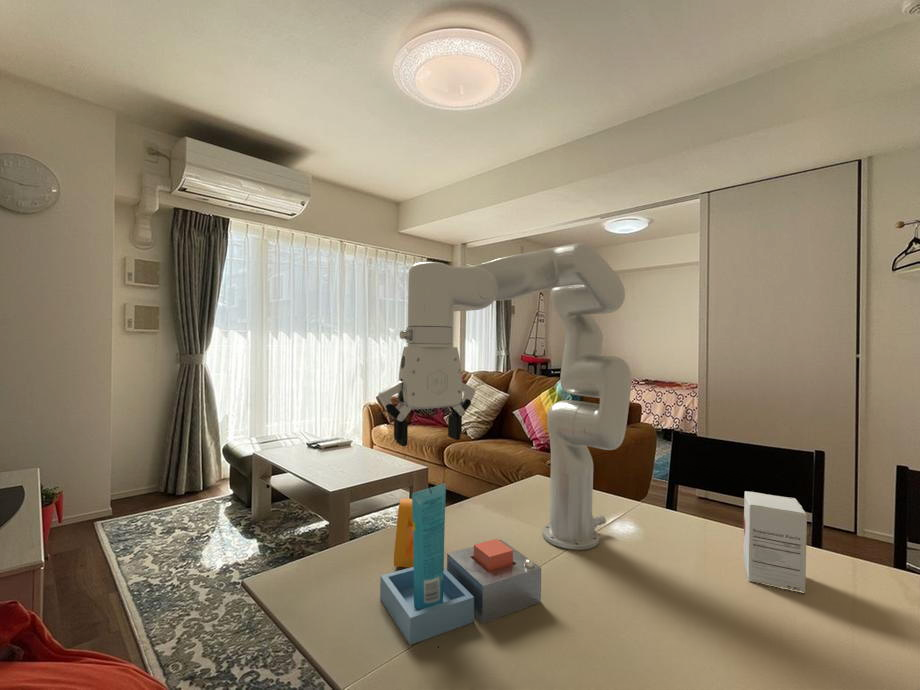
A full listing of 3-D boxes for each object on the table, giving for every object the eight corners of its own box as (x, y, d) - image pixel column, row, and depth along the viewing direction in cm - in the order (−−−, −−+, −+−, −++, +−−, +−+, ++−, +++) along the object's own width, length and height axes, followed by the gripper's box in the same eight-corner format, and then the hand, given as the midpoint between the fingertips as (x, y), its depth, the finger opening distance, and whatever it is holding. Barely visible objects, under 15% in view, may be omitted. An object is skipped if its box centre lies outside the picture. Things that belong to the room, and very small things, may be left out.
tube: (431, 588, 76) (433, 479, 76) (453, 598, 73) (455, 485, 73) (401, 608, 70) (403, 490, 70) (423, 620, 67) (425, 497, 67)
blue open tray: (436, 582, 80) (437, 560, 80) (473, 622, 68) (474, 597, 68) (380, 598, 74) (380, 575, 74) (409, 645, 63) (410, 617, 63)
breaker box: (500, 569, 84) (501, 534, 84) (540, 602, 74) (541, 561, 74) (446, 585, 78) (447, 547, 78) (482, 623, 68) (483, 579, 68)
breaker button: (496, 576, 80) (496, 538, 80) (512, 590, 75) (513, 550, 75) (473, 583, 77) (473, 544, 77) (488, 598, 73) (489, 556, 73)
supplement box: (742, 561, 90) (743, 489, 90) (795, 572, 86) (797, 497, 86) (746, 582, 82) (748, 503, 82) (806, 595, 78) (808, 513, 78)
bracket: (430, 573, 83) (431, 511, 83) (393, 570, 84) (394, 509, 84) (438, 547, 94) (439, 492, 94) (405, 544, 94) (406, 490, 94)
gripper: (388, 337, 64) (387, 452, 64) (486, 339, 72) (484, 440, 72) (372, 337, 70) (371, 442, 70) (463, 339, 79) (462, 432, 79)
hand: (428, 441), depth 71 cm, fingers open, 9 cm apart
